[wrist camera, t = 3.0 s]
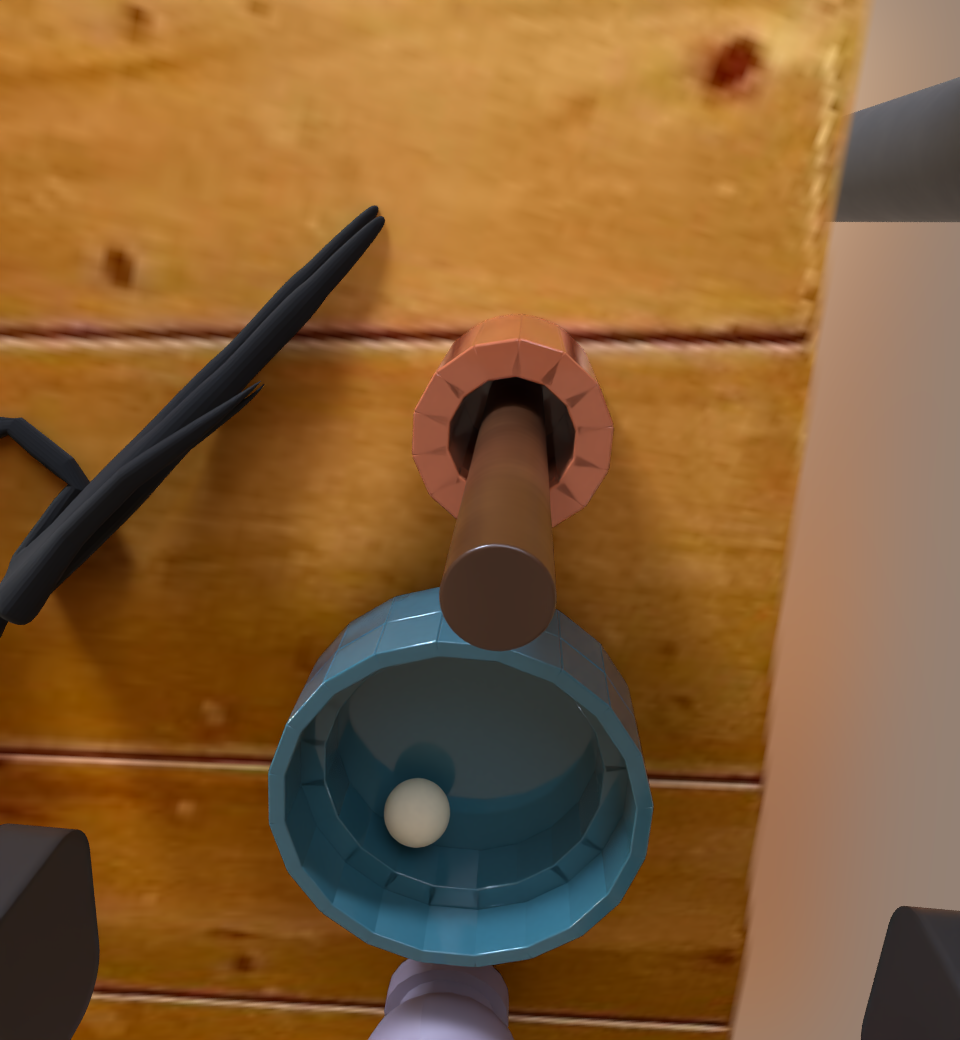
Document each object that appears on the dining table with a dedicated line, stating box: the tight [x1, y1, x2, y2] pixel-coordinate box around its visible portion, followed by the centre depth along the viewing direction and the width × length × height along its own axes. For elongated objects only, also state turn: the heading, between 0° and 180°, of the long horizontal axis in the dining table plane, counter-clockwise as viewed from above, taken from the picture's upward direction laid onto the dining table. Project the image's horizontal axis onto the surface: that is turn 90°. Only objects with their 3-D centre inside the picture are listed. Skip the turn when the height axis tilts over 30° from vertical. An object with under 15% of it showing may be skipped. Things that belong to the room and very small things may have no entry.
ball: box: [384, 778, 450, 848], centre depth 40 cm, size 3×3×3 cm
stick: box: [439, 377, 557, 651], centre depth 26 cm, size 2×2×20 cm
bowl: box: [268, 587, 654, 967], centre depth 38 cm, size 15×15×6 cm
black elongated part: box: [0, 205, 385, 637], centre depth 34 cm, size 8×9×25 cm
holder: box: [412, 314, 614, 528], centre depth 32 cm, size 6×6×8 cm
